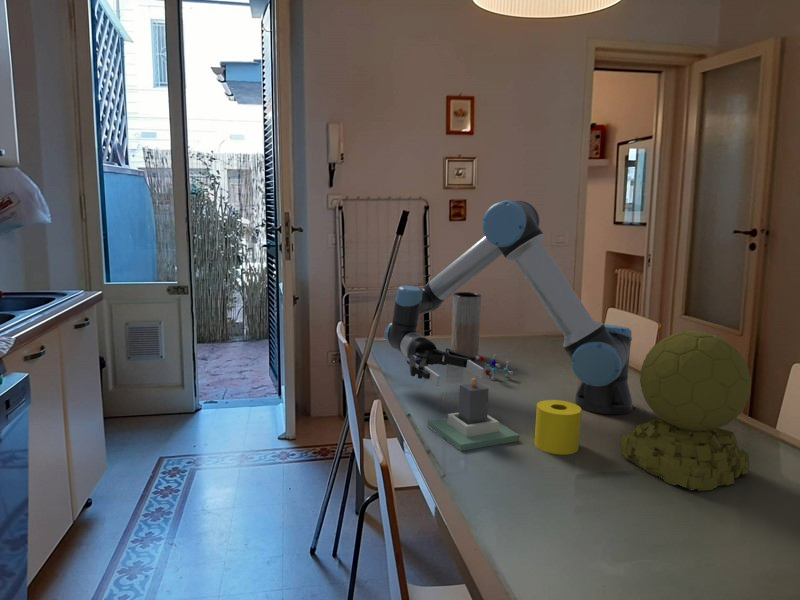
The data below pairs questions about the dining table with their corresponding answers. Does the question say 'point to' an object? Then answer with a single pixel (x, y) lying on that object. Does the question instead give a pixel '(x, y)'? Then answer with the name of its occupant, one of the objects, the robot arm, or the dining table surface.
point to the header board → (472, 432)
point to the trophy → (691, 412)
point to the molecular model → (494, 367)
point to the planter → (466, 323)
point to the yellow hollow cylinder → (557, 427)
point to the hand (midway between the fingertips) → (460, 377)
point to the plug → (473, 403)
